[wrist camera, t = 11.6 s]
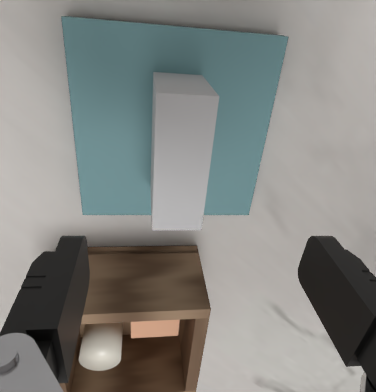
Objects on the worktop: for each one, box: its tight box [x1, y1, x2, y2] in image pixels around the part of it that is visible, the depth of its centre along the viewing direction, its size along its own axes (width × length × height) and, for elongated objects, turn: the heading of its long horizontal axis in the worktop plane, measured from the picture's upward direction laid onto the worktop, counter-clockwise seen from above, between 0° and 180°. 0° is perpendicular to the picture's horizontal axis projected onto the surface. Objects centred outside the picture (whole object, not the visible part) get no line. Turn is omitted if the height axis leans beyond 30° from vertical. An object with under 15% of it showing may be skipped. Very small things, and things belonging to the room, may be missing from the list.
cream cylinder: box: [79, 322, 123, 371], centre depth 29 cm, size 4×4×4 cm
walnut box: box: [59, 246, 211, 392], centre depth 28 cm, size 12×12×7 cm
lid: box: [61, 16, 288, 230], centre depth 20 cm, size 13×13×7 cm
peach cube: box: [131, 320, 180, 338], centre depth 27 cm, size 4×4×4 cm
